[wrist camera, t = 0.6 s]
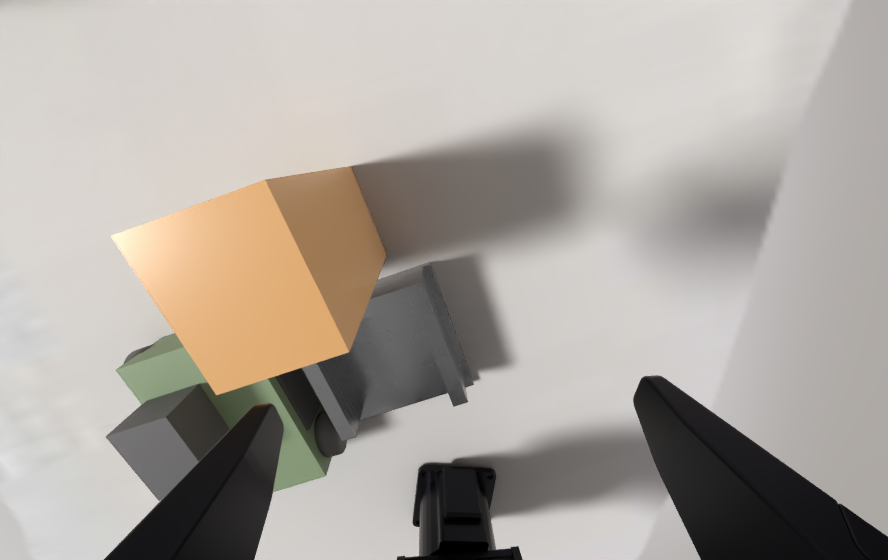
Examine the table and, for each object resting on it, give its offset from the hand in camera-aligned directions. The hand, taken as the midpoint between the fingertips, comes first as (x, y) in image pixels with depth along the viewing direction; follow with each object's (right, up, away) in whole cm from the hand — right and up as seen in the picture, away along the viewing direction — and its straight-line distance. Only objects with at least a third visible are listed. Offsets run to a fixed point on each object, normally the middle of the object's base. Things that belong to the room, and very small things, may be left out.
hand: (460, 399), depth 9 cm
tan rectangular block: (-7, +6, +14) cm, 18 cm away
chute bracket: (-4, -2, +17) cm, 18 cm away
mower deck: (-14, -5, +18) cm, 24 cm away
